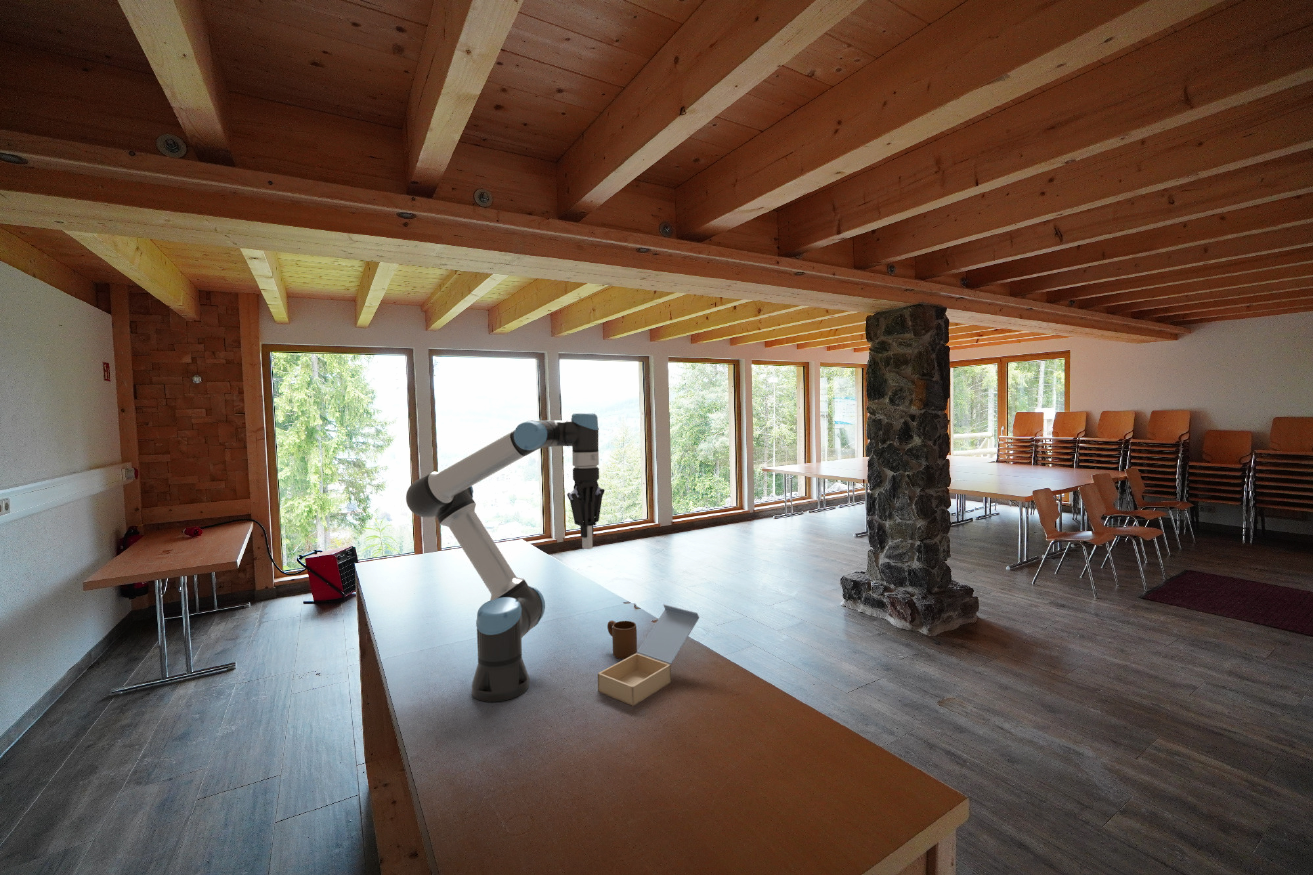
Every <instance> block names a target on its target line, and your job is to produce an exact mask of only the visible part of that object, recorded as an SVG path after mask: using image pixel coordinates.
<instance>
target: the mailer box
mask: <svg viewBox="0 0 1313 875" xmlns="http://www.w3.org/2000/svg"><path fill="white" fill-rule="evenodd" d="M671 668H672V664H670V663H667V662H664V661H661V660H658V659H655V658H652V657H649V656H646V655H643V654H640V653H636V654H634V655H632V656H630V657H628V658H626V659H621V661H619V662H616V663H614V664H613V665H611V666H609V667H607V668H605V669H604V670H602V671H599V672H597V692H598V693H600V694H602V695H605V696H607V697H610V698H613V699H615V700H617V701H619V702H622V703H623V704H627V705H629V706H631V707H635V706H637V705H638V704H639V703H641V702H642V701H644V700H645V699H647V698H649V697H650V696H652V695H653V694H655V693H657V692H658V691H660V690H661V689H663V688H664V687H666V686H668V685H669V684H671V683H672V680H671V679H672V670H671Z"/></svg>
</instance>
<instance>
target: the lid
mask: <svg viewBox="0 0 1313 875" xmlns="http://www.w3.org/2000/svg"><path fill="white" fill-rule="evenodd" d="M662 606H663V608H664V610H663V611H662V613H661V614H660V616H659V617H658V619H657V620H656V622H655V624H654V625H653V627H652V628H651V630H650V631H649V633H648V634H647V636H646V637H645V639H644V640H643V642H642V643H641V645H640V647H639V648H637V654H640V655H643V656H646V657H649V658H652V659H655V660H658V661H661V662H664V663H667V664H670V665H672V664H673V662H674V661H675V659H676V657H677V655H678V654H679V652H680V651H681V649H682V647H683V645H684V644H685V642H686V641H687V639H688V638H689V636H690V634H691V633H692V631H693V630H694V627H695V626H696V624H697V622H698V620H699V619H700V616H699V613H698V612H695V611H692V610H688V609H683V608H678V607H676V606H672V605H668V604H663V605H662Z"/></svg>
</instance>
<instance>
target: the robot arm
mask: <svg viewBox="0 0 1313 875" xmlns="http://www.w3.org/2000/svg"><path fill="white" fill-rule="evenodd" d="M598 421H599V419H598V415H597V414H596V413H595V412H594V413H593V412H592V413H591V412H589V413H588V412H587V413H586V412H584V413H582V412H580V413H578V412H577V413H573V414H572V415H571V418H570V419H569V420H545V419H544V420H543V419H542V420H527V421H523V422H521V423H519V424H518V425H517V426H516V427H515V429H514V430H512V431H511V432H509V433H507V434H506V435H503V436H502V437H500V438H497V439H496V440H494V441H493V442H491V443H489V444H488V445H486V446H484V447H482V448H480V449H478V450H477V451H475V452H474V453H471V454H469V455H468V456H466V457H464V458H463V459H461V460H459V461H458V462H455V463H454V464H452V465H451V466H449V467H447V468H445V469H443V470H441V471H440V472H438V471H433V472H430V473H429V474H427V475H424V476H423V477H421V478H419V479H416V480H415V481H413V482H412V483H411V484H410V485H409V487H408V489H407V490H406V495H405V501H406V505H407V507H408V509H409V510H410V511H411V513H413V515H416V516H418V517H421V518H433V517H434V518H436V519H437V522H438V523H439V524H440V526H443V527H448V528H449V529H450V531H451V533H452V534H453V536H454V538H455V539H456V540H457V542H458V544H459V546H460V547H461V549H462V550H463V552H464V553H465V555H466V556H467V558H468V560H469V561H470V563H471V564H472V566H473V568H474V569H475V571H476V573H477V574H478V576H479V577H480V579H481V580H482V581H483V584H484V585H485V586H486V589H488V592H489V593H490V600H489V601H486V602H484V603H483V604H482V605H481V606H480V607H479V608H478V610H477V612H476V613H477V614H476V620H475V622H476V624H475V626H476V638H477V666H476V670H475V673H474V676H473V679H472V682H471V694H472V696H473V698H475V699H476V700H478V701H480V702H481V701H482V702H487V703H488V702H489V703H491V702H493V703H495V702H505V701H509V700H511V699H515V698H517V697H519V696H521V695H523V694H524V693H525V692H526V691H527V690H528V688H529V686H530V676H529V673H528V670H527V667H526V665H525V662H524V659H523V653H522V652H523V646H522V644H523V642H522V638H523V637H525V636H526V634H528V633H529V632H530V630H532V629H533V628H535V627H536V626H537V625H538V624H539V622H540V621H541V619H542V618H543V617H544V614H545V610H546V602H545V601H546V600H545V598H544V596H543V594H542V593H541V591H540V590H539V589H537V588H536V587H532V586H531V585H528V583H527V581H526V580H525V579H524V578H522V577H517V575H516V574H515V573H514V571H513V570H512V568H511V567H510V565H509V563H508V562H507V560H506V558H505V557H504V555H503V553H502V552H501V551H500V549H499V547H498V545H496V542H495V541H494V540H493V539H492V536H491V535H490V534H489V532H488V530H487V529H486V527H485V526H484V524H483V523H482V522H483V521H481V519H480V517H479V516H478V515H477V513H476V511H475V509H476V506H477V503H476V501H475V500H474V489H473V486H474V485H476V484H478V483H480V482H481V481H483V480H485V479H487V478H488V477H489V476H492V475H494V474H496V473H498V472H499V471H501V470H502V469H504V468H506V467H508V466H509V465H512V464H513V463H515V462H517V461H518V460H521V459H522V458H524V457H525V456H528V455H530V454H532V453H534V452H535V451H536V452H537V450H539V449H545V448H552V447H572V454H571V455H572V466H573V468H572V480H573V481H574V486H573V490H572V491H571V492H568V493H567V494H566V495H567V499H569V503H570V506H571V507H570V508H571V512H572V516H573V517H572V518H573V522H574V525H576V526H579V527H580V537H581V541H582V542H581V545H582V546H581V547H582V549H586V550H591V549H593V536H594V534H595V533H594V526H596V525H597V523H599V521H600V516H601V515H600V514H601V508H602V501H603V496H604V494H605V489H604V488H601V487H600V486H599V482H598V480H600V468H599V467H598V466H599V464H600V457H599V430H600V429H599V422H598Z"/></svg>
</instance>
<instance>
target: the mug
mask: <svg viewBox="0 0 1313 875" xmlns="http://www.w3.org/2000/svg"><path fill="white" fill-rule="evenodd" d="M606 629H607V631H608V634H609V635H610V636H611V637H612V638H611V639H612V640H611V641H612V654H613V657H615V658H616V659H619V660H624V659H626V658H628V657H630V656H632V655H634V654H636V653H637V651H638V632H637V631H638V629H637V624H636V623H635V622H634V621H631V620H621V621H617V622H616V621H615V620H609V621H608V622H607V628H606ZM637 654H638V653H637Z"/></svg>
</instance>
